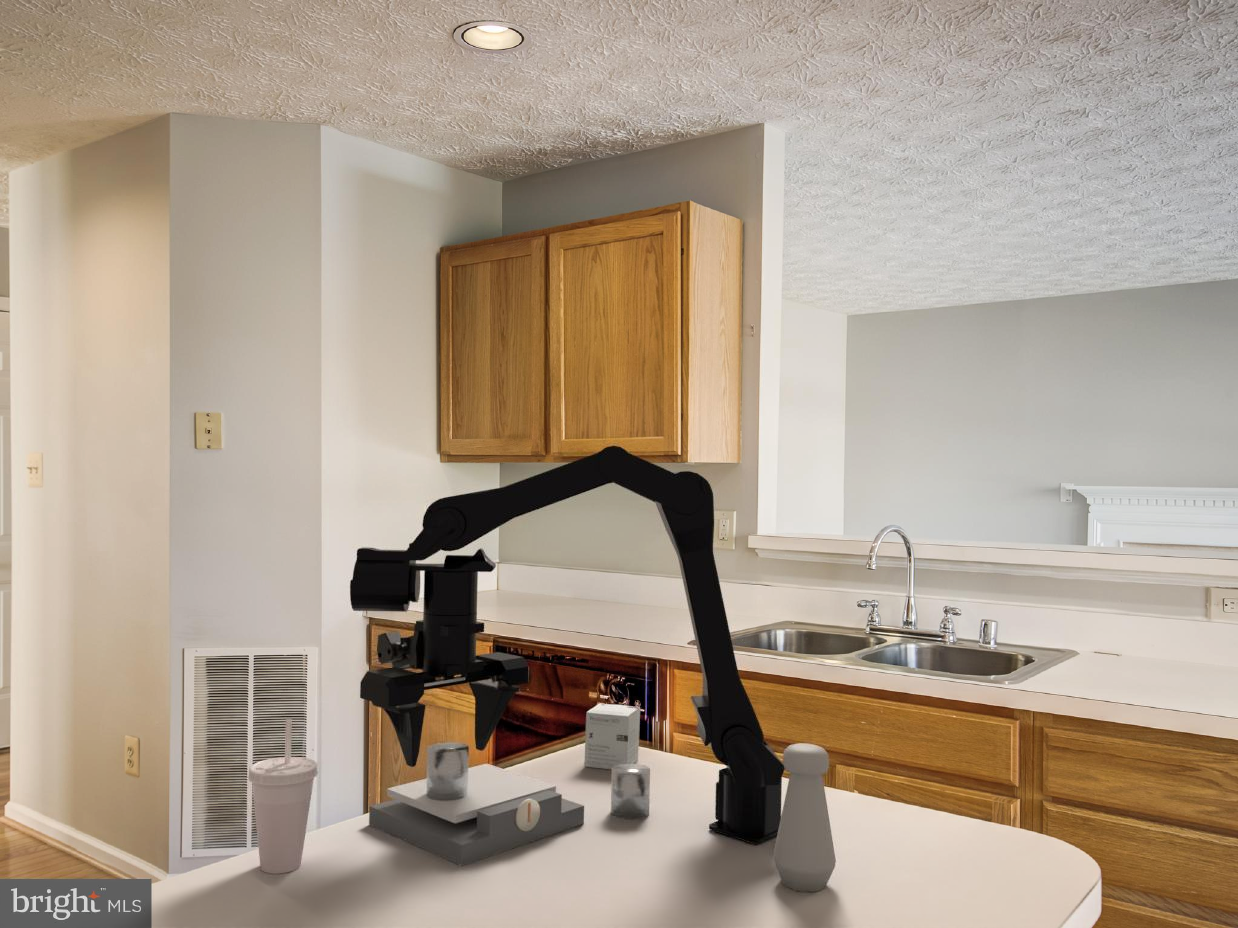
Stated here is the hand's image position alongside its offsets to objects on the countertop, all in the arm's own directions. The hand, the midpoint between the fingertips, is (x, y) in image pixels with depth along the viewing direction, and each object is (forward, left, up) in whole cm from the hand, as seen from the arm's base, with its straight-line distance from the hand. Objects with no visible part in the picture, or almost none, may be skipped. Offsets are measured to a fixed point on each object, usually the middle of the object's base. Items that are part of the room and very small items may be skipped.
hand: (446, 757), depth 107 cm
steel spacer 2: (-10, -19, -8) cm, 22 cm away
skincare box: (+5, -32, -8) cm, 33 cm away
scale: (-1, -4, -8) cm, 9 cm away
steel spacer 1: (0, 0, -4) cm, 4 cm away
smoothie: (+3, +17, -8) cm, 19 cm away
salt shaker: (-35, -16, -8) cm, 39 cm away
